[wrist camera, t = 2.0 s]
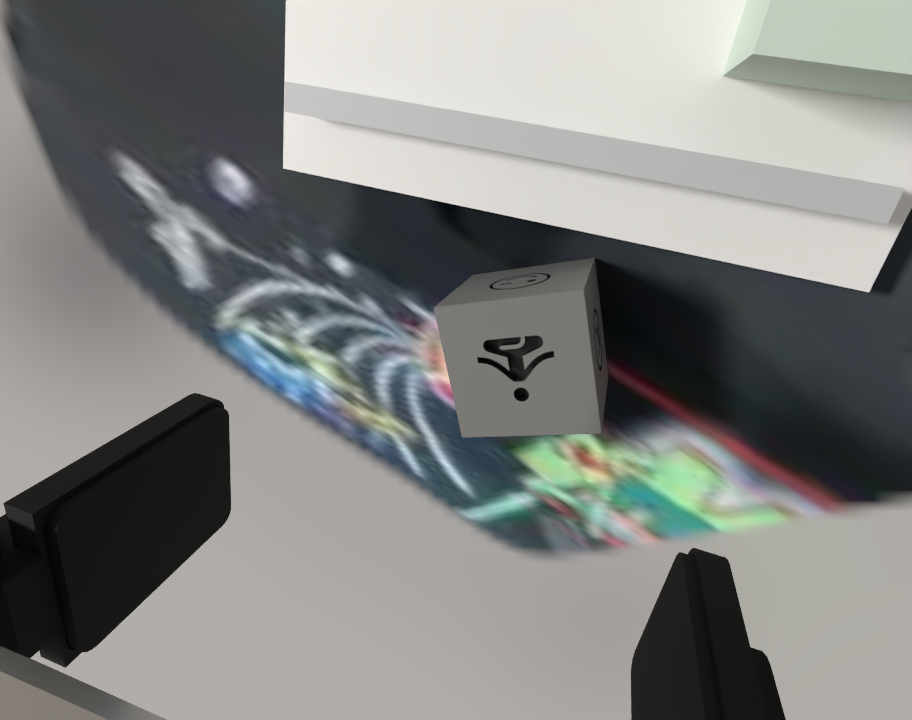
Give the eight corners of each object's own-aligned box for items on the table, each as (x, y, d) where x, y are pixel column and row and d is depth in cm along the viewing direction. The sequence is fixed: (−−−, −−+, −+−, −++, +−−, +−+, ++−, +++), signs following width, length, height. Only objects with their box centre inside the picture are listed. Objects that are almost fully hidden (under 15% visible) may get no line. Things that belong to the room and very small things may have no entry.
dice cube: (594, 257, 21) (583, 289, 17) (608, 375, 23) (601, 433, 18) (473, 274, 23) (434, 307, 18) (494, 382, 24) (461, 437, 20)
